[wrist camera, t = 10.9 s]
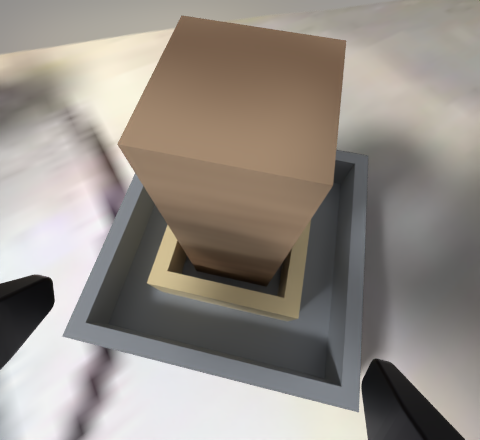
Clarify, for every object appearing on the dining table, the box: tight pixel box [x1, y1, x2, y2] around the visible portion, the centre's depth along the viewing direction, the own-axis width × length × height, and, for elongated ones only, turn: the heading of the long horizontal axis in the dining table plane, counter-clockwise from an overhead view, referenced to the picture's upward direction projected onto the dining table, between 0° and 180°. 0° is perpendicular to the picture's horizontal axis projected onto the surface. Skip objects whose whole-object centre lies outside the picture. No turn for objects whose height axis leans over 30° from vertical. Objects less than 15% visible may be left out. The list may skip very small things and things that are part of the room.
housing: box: [63, 150, 368, 412], centre depth 16 cm, size 14×14×4 cm
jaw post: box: [118, 16, 346, 287], centre depth 12 cm, size 4×4×12 cm
